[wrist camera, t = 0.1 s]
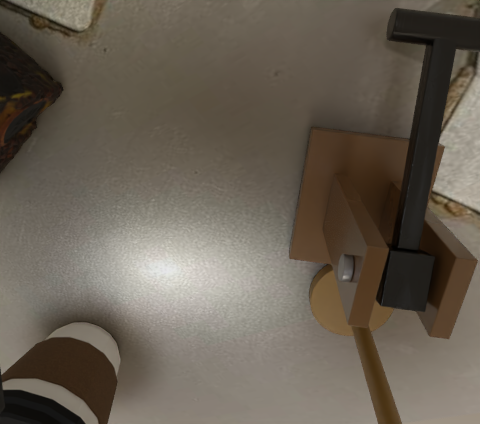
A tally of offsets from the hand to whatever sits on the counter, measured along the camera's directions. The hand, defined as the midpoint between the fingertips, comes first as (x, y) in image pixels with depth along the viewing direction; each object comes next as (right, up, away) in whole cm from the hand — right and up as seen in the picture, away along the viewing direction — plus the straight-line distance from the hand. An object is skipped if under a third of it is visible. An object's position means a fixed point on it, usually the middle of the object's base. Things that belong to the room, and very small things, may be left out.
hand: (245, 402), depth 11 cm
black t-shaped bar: (+9, +7, +11) cm, 16 cm away
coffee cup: (-14, -8, +28) cm, 32 cm away
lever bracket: (+9, +6, +21) cm, 23 cm away
